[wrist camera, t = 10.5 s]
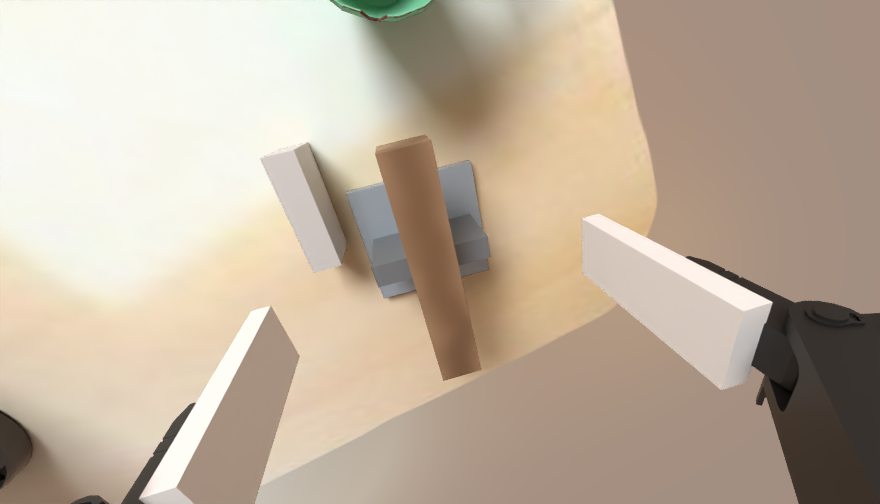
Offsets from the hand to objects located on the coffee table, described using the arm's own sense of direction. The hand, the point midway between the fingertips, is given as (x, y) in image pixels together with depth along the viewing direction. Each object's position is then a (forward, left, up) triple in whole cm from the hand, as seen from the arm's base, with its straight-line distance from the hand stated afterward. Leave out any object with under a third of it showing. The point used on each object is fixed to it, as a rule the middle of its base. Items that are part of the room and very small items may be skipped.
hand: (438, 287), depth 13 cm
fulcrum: (0, -5, -20) cm, 20 cm away
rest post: (-9, +1, -20) cm, 21 cm away
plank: (0, -5, -13) cm, 14 cm away
